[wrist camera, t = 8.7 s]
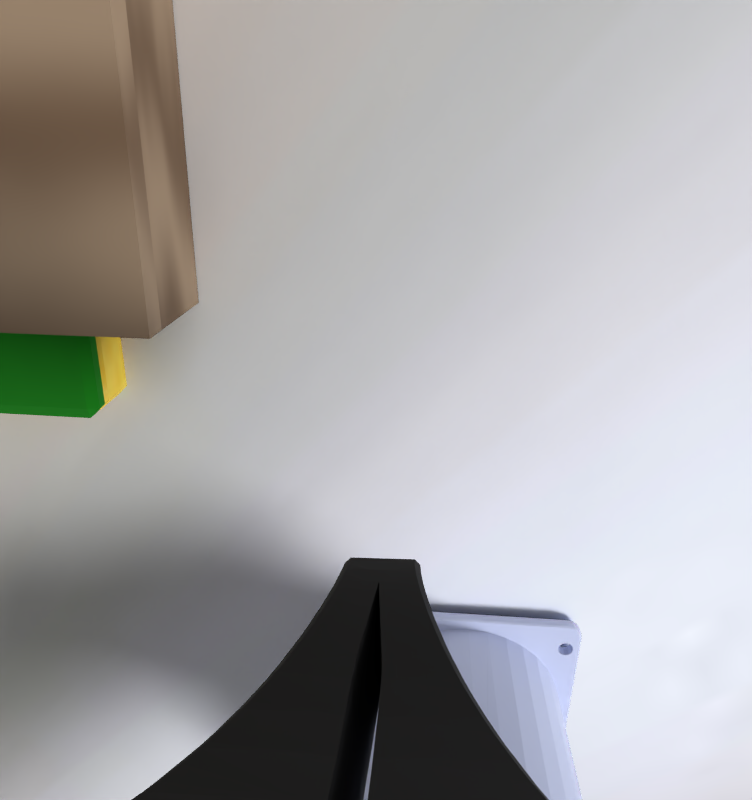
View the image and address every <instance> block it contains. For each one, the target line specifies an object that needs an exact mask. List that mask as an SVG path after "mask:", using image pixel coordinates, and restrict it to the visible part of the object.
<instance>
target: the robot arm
mask: <svg viewBox="0 0 752 800" xmlns="http://www.w3.org/2000/svg"><path fill="white" fill-rule="evenodd" d="M566 643H567V644H570V645H568V646H566V647H560V645H562V644H566ZM580 644H581V632H580V629H579V627H578V625H577V624H576V623H574V622H573V621H568V620H556V619H540V618H524V617H508V616H493V615H477V614H461V613H445V612H432V610H431V607H430V604H429V601H428V598H427V595H426V592H425V589H424V585H423V581H422V576H421V569H420V564H419V563H418V562H417V561H416V560H412V559H379V558H350V559H349V560H348V561H346V562H345V564H344V567H343V569H342V571H341V573H340V575H339V577H338V579H337V580H336V582H335V584H334V586H333V588H332V589H331V591H330V593H329V594H328V596H327V598H326V599H325V601H324V603H323V604H322V606H321V607H320V609H319V610H318V612H317V613H316V615H315V616H314V618H313V619H312V621H311V622H310V624H309V625H308V627H307V628H306V630H305V631H304V633H303V634H302V635H301V637H300V638H299V639H298V641H297V642H296V643H295V645H294V646H293V647H292V648H291V650H290V651H289V652H288V654H287V655H286V656H285V658H284V659H283V660H282V661H281V663H280V664H279V665H278V666H277V668H276V669H275V670H274V671H273V672H272V674H271V675H270V676H269V677H268V678H267V679H266V681H265V682H264V683H263V684H262V685H261V686H260V687H259V688H258V690H257V691H256V692H255V693H254V694H253V695H252V696H251V697H250V698H249V699H248V700H247V701H246V702H245V703H244V705H243V706H242V707H241V708H240V709H239V710H237V711H236V712H235V713H234V714H233V715H232V716H231V717H230V718H229V719H228V720H227V721H226V722H225V723H224V724H223V725H222V726H221V727H220V728H219V729H218V730H217V731H216V732H215V733H214V734H213V735H212V736H210V737H209V738H208V739H207V740H206V741H205V742H204V743H203V744H202V745H200V746H199V747H198V748H197V749H196V750H195V751H193V752H192V753H191V754H190V755H188V756H187V757H186V758H185V759H184V760H182V761H181V762H180V763H179V764H177V765H176V766H175V767H174V768H173V769H171V770H170V771H169V772H168V773H166V774H165V775H164V776H163V777H162V778H160V779H159V780H158V781H157V782H155V783H154V784H153V785H151V786H150V787H149V788H147V789H146V790H145V791H143V792H142V793H141V794H139V795H138V796H136V797H135V798H133V799H132V800H582V796H581V791H580V787H579V783H578V779H577V774H576V770H575V766H574V761H573V757H572V753H571V749H570V744H569V740H568V736H567V731H566V723H567V718H568V712H569V706H570V701H571V695H572V689H573V684H574V678H575V672H576V667H577V661H578V655H579V649H580Z"/></svg>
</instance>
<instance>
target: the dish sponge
mask: <svg viewBox="0 0 752 800" xmlns="http://www.w3.org/2000/svg"><path fill="white" fill-rule="evenodd" d="M126 386H127V384H126V376H125V368H124V361H123V353H122V345H121V338H120V337H95V336H70V335H44V334H19V333H0V413H8V414H27V415H46V416H65V417H84V418H91V417H92V416H93V415H94V414H96V413H97V412H98V411H99V410H100V409H102V408H103V407H104V406H105V405H106V404H108V403H109V402H110V401H111V400H112V399H114V398H115V397H116V396H117V395H118V394H119V393H120V392H121V391H122V390H123V389H124V388H125V387H126Z"/></svg>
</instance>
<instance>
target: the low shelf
mask: <svg viewBox="0 0 752 800" xmlns="http://www.w3.org/2000/svg"><path fill="white" fill-rule="evenodd" d="M197 303H199V302H198V291H197V279H196V268H195V256H194V245H193V233H192V222H191V210H190V199H189V187H188V176H187V164H186V153H185V141H184V130H183V118H182V107H181V95H180V84H179V72H178V61H177V49H176V38H175V26H174V15H173V3H172V0H0V333H19V334H44V335H70V336H95V337H120V338H146V339H150V338H151V337H153V336H154V335H155V334H157V333H158V332H160V331H161V330H162V329H164V328H165V327H166V326H168V325H169V324H170V323H172V322H173V321H174V320H176V319H177V318H178V317H180V316H181V315H183V314H184V313H185V312H187V311H188V310H189V309H191V308H192V307H193V306H195V305H196V304H197Z"/></svg>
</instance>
